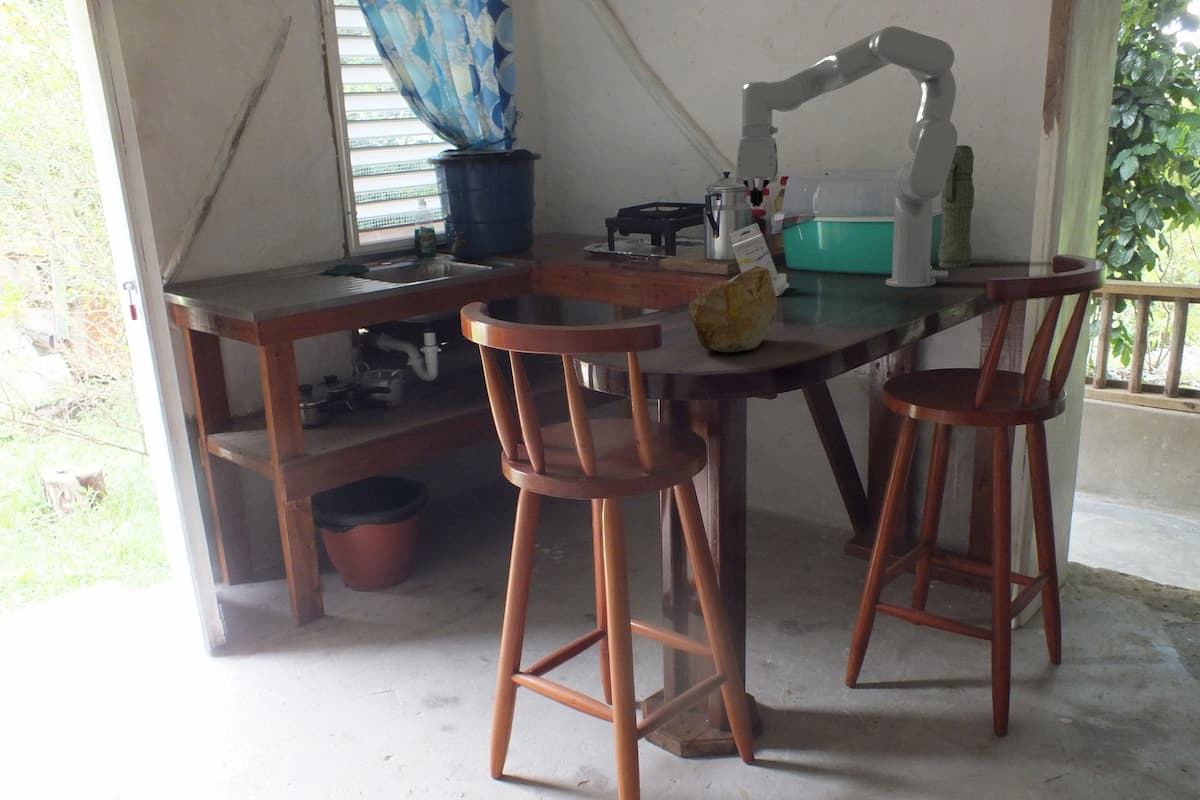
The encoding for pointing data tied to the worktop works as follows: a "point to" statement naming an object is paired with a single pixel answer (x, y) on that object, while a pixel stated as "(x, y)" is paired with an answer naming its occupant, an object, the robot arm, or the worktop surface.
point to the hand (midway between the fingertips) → (756, 205)
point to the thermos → (957, 210)
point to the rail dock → (776, 283)
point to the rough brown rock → (735, 312)
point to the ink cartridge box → (752, 250)
